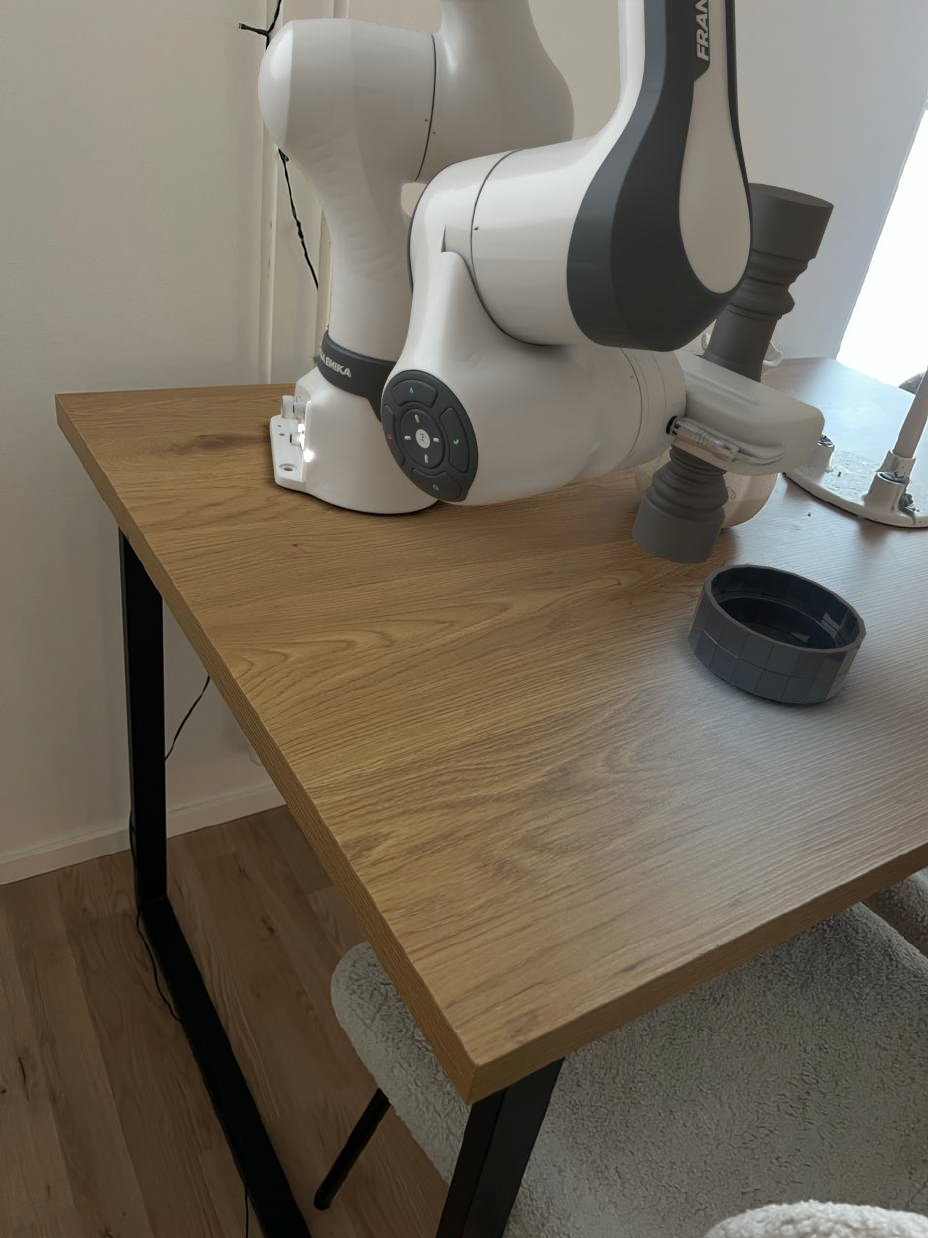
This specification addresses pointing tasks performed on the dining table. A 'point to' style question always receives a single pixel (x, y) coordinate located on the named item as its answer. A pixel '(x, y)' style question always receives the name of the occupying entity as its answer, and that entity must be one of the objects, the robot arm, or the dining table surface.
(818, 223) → the candle holder
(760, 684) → the bowl
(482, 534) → the dining table surface
